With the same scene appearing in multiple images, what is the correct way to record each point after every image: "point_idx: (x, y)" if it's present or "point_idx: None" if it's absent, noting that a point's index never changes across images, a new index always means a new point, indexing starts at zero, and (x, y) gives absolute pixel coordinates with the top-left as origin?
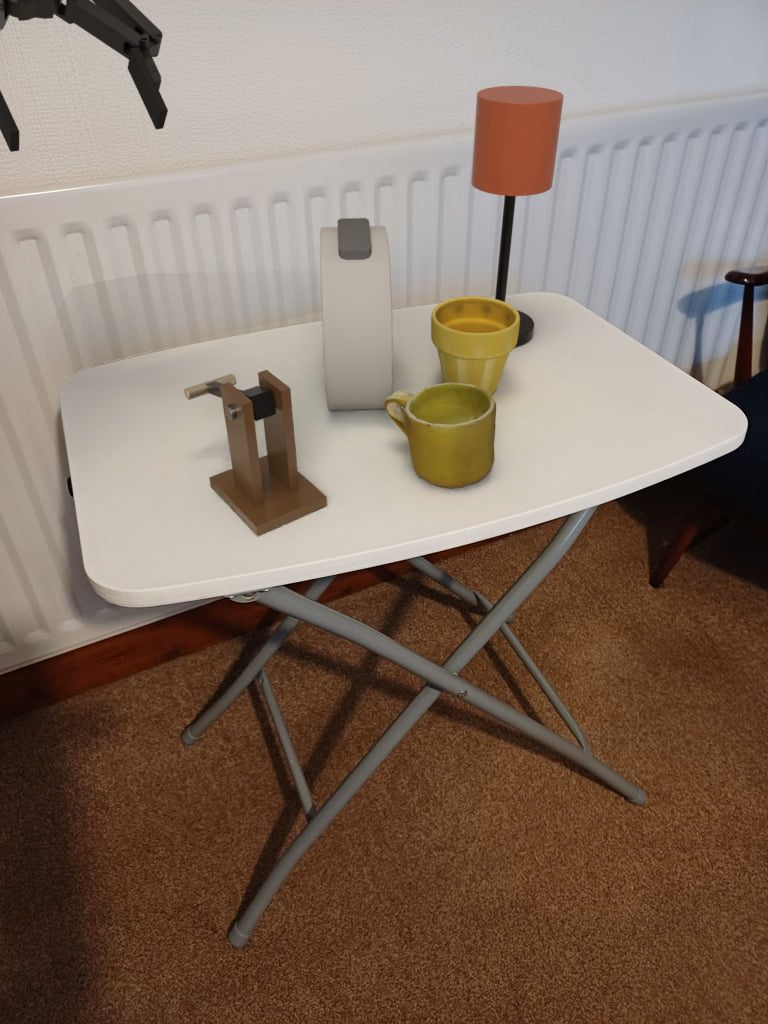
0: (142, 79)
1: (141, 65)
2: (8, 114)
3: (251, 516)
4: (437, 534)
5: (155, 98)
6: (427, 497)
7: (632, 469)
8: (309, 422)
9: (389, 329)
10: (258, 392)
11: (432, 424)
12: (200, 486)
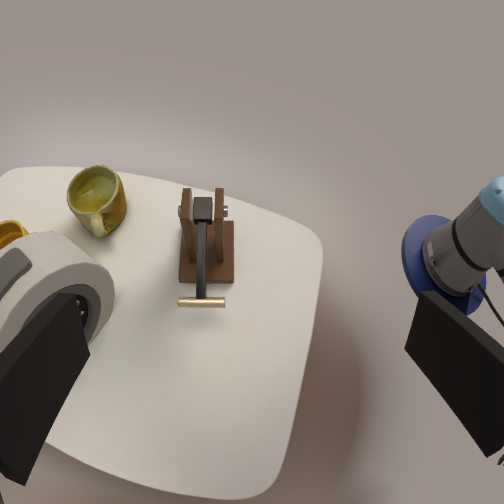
0: (30, 371)
1: (1, 369)
2: (447, 311)
3: (230, 229)
4: (155, 178)
5: (57, 311)
6: (135, 201)
7: (55, 170)
8: (131, 310)
9: (61, 234)
10: (202, 200)
11: (117, 176)
12: (239, 287)
